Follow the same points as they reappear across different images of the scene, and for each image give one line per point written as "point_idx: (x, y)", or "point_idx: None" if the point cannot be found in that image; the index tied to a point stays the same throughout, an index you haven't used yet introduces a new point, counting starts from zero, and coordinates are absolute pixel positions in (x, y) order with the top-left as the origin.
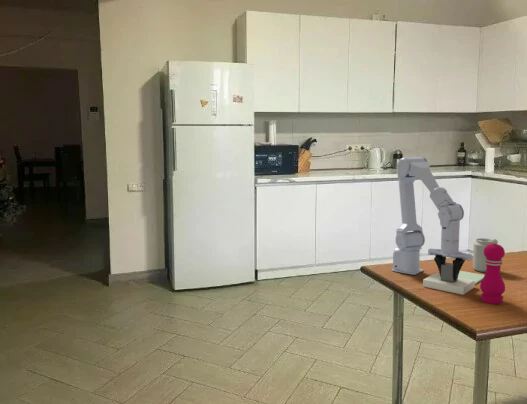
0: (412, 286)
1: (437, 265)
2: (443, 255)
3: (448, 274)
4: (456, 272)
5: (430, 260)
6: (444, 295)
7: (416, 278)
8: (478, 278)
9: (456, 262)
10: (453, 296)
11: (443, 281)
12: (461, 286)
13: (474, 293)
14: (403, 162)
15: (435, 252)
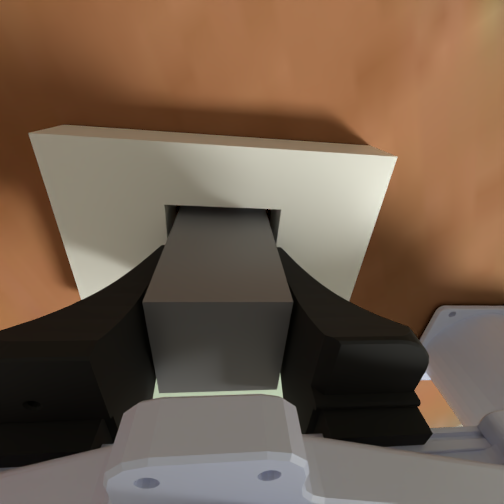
0: (442, 100)
1: (334, 295)
2: (257, 405)
3: (205, 247)
4: (125, 274)
5: None
6: (161, 6)
7: (423, 271)
8: (155, 396)
9: (24, 341)
10: (92, 28)
11: (240, 200)
12: (60, 151)
13: (36, 202)
14: None
15: (474, 477)
